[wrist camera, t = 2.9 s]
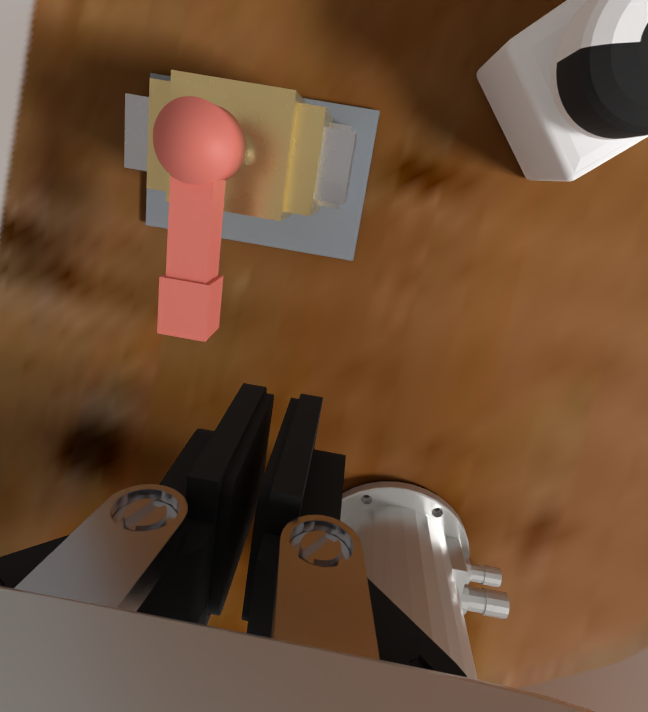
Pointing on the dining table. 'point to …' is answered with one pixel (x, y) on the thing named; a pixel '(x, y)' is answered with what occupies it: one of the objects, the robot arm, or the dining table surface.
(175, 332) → the lever
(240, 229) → the mat
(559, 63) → the medicine bottle
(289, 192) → the valve
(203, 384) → the dining table surface
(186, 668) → the robot arm
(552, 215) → the dining table surface
